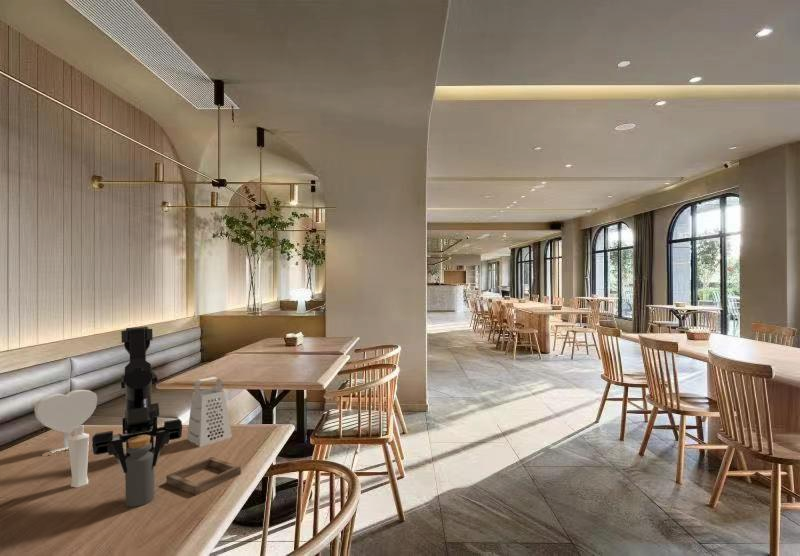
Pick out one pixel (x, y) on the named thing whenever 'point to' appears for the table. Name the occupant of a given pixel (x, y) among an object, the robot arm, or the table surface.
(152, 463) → the bottle
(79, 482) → the perfume bottle
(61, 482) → the table surface
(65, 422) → the heart sculpture
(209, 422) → the grater
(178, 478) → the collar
